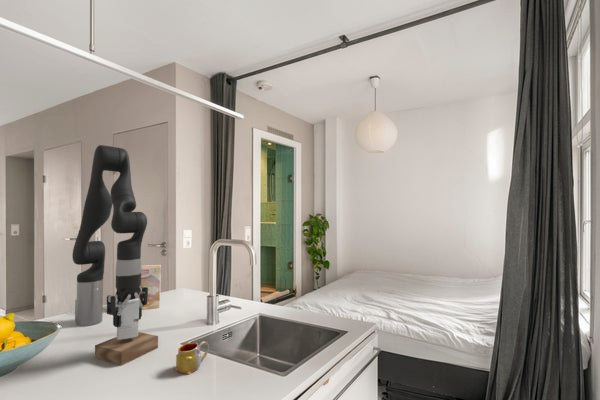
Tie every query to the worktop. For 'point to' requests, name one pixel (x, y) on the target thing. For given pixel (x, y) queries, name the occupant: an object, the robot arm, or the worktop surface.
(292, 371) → the worktop surface
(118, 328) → the skincare box
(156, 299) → the coffeecake box
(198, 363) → the mug
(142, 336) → the base
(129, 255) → the robot arm
